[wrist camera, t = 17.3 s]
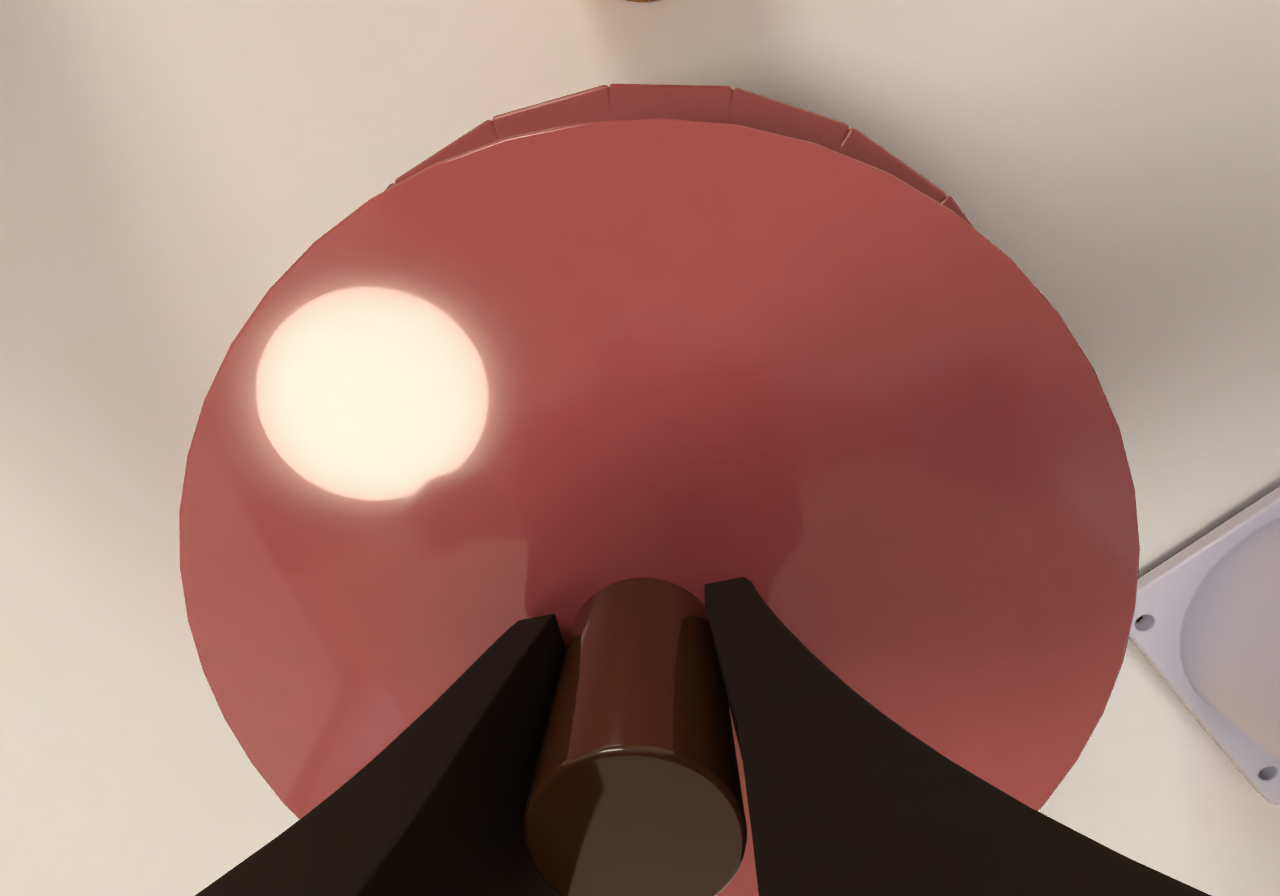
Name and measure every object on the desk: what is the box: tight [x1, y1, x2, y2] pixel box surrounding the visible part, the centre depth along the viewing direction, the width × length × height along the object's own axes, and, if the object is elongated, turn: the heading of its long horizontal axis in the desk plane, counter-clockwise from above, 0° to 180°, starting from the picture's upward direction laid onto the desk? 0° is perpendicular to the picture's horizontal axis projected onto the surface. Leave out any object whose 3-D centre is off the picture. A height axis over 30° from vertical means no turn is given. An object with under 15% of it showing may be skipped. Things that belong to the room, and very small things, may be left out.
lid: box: [180, 118, 1140, 896], centre depth 8 cm, size 15×15×5 cm
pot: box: [385, 84, 976, 230], centre depth 14 cm, size 14×14×5 cm
